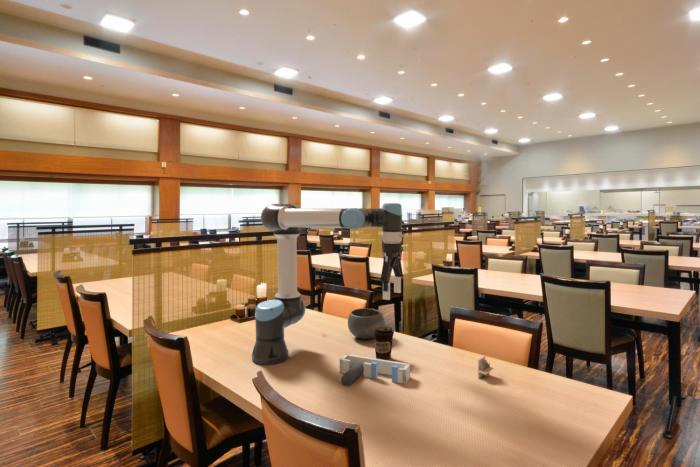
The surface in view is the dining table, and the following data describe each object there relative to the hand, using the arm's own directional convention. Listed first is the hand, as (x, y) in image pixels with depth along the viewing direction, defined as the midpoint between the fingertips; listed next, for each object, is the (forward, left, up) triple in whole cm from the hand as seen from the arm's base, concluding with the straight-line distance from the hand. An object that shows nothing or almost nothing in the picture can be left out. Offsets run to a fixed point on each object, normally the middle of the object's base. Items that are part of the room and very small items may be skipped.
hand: (392, 296), depth 157 cm
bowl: (-22, +28, -28) cm, 45 cm away
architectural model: (+35, +3, -29) cm, 45 cm away
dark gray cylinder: (-9, -18, -28) cm, 35 cm away
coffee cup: (-5, +5, -28) cm, 29 cm away
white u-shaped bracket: (-3, -12, -28) cm, 30 cm away
